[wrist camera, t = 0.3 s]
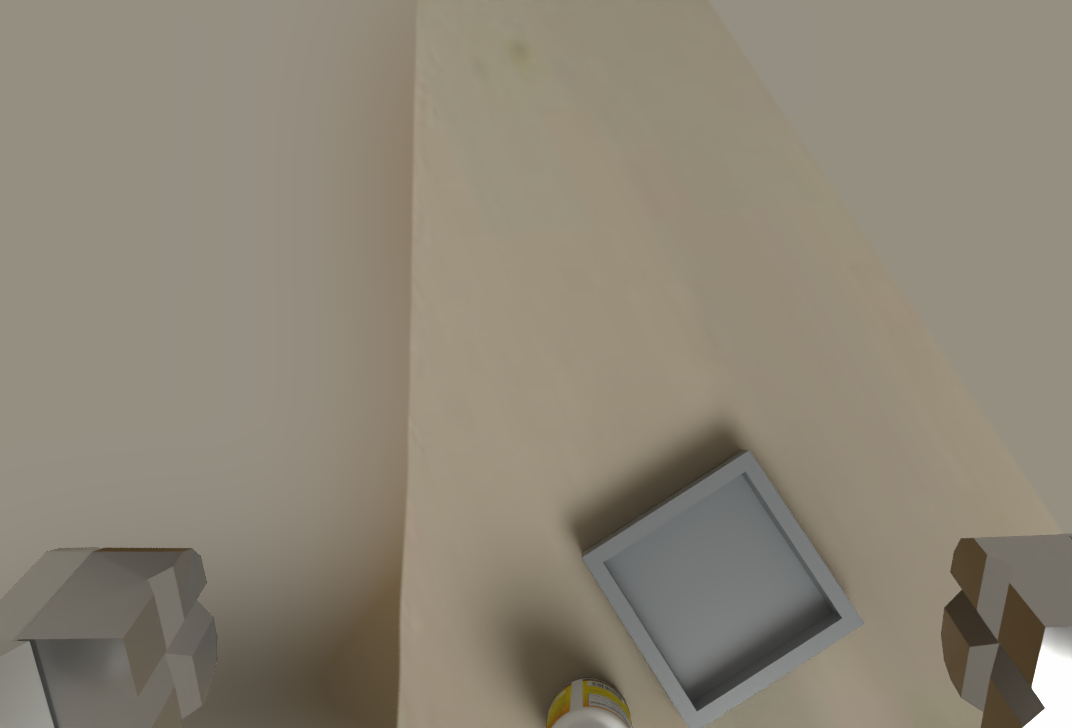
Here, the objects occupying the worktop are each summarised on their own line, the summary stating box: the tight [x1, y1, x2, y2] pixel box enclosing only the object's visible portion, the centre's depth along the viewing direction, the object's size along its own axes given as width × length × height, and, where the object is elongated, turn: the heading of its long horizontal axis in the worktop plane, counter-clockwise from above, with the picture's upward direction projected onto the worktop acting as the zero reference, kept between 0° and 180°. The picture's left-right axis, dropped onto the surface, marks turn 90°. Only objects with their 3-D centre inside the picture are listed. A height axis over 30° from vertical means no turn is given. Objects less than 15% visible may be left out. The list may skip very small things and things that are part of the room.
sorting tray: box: [582, 450, 865, 728], centre depth 59 cm, size 13×13×3 cm
